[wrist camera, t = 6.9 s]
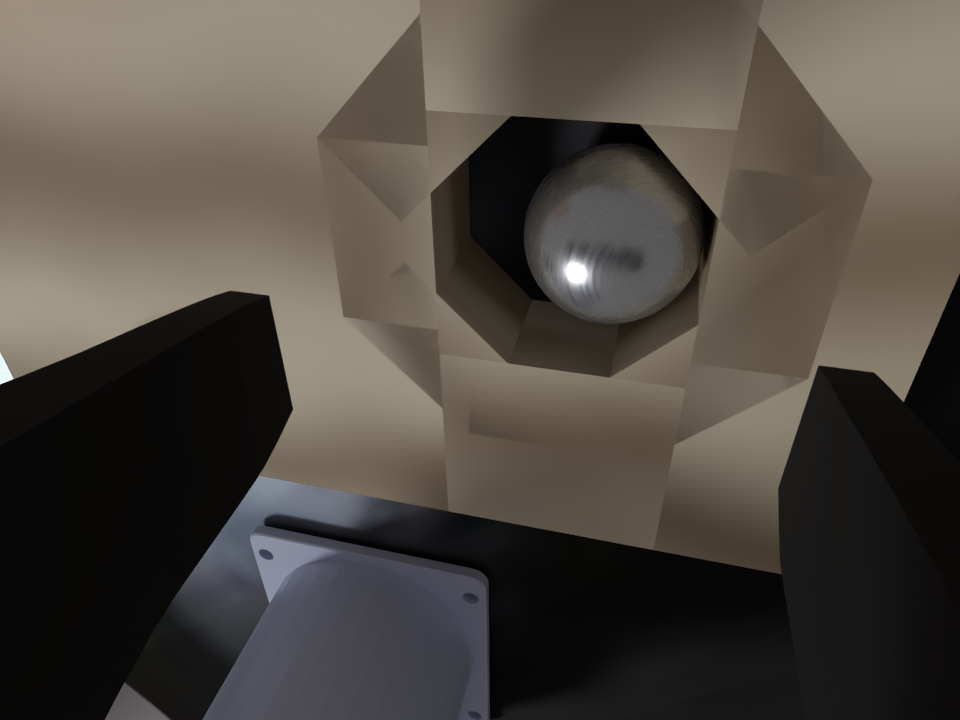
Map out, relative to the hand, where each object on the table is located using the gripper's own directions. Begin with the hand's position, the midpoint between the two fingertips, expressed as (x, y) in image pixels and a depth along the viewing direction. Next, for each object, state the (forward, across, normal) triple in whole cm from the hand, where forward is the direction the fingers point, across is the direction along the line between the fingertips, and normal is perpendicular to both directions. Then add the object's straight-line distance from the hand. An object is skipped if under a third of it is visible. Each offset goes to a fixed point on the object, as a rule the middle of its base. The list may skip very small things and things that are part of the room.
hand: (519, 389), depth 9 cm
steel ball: (+4, -1, 0) cm, 5 cm away
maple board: (+6, +4, 0) cm, 7 cm away
